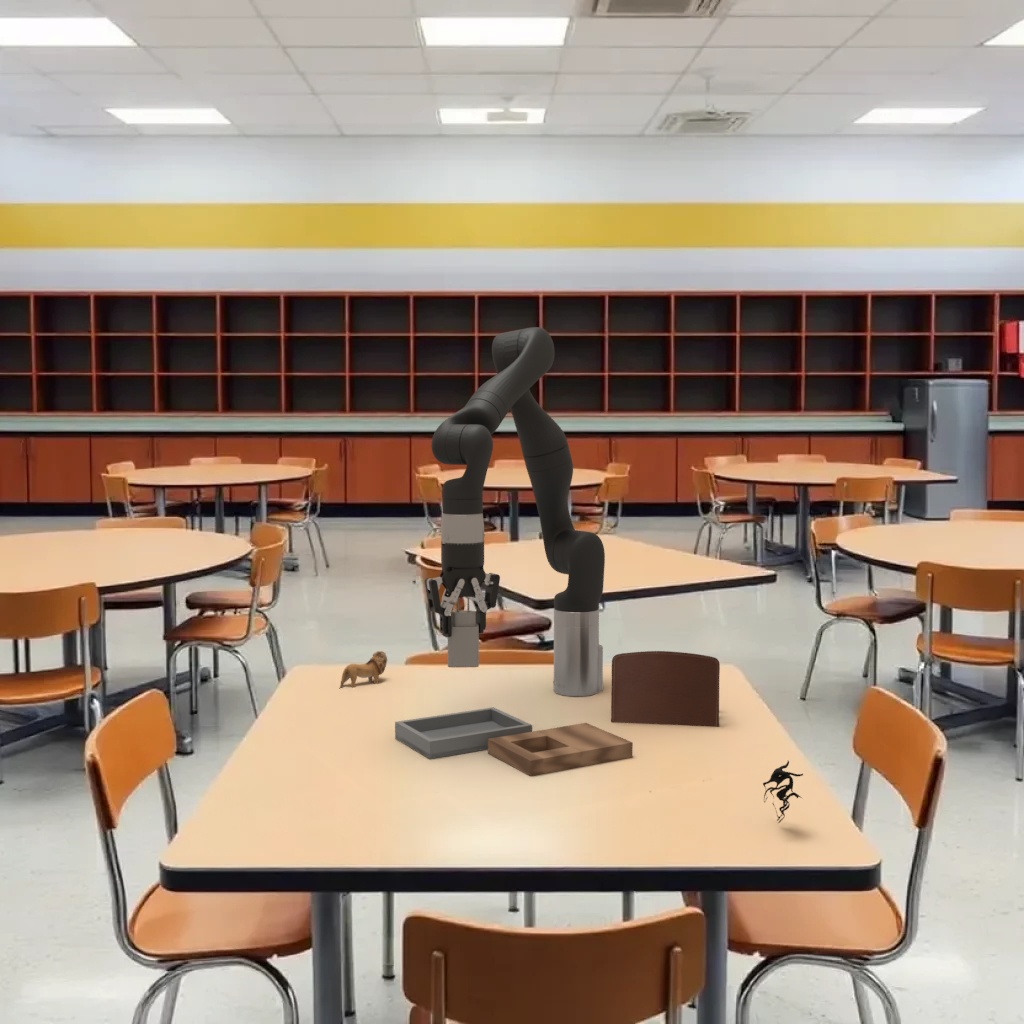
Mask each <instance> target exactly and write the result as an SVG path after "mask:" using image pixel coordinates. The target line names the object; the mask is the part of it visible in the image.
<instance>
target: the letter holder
mask: <svg viewBox="0 0 1024 1024" xmlns="http://www.w3.org/2000/svg"><path fill="white" fill-rule="evenodd" d="M611 659H612V660H611V694H610V695H611V697H610V698H611V701H610V703H611V704H610V705H611V707H610V713H611V714H610V715H611V717H610V722H611V723H615V724H617V723H619V724H639V725H642V724H643V725H660V726H662V725H663V726H665V725H666V726H667V725H668V726H687V727H688V726H689V727H710V728H712V727H713V728H719V727H720V672H721V671H720V661H719V659H718V658H716V657H714V656H710V655H704V654H696V653H690V652H682V651H681V652H680V651H669V650H667V651H665V650H663V651H662V650H651V651H650V650H648V651H634V652H633V651H632V652H625V653H623V652H622V653H618V654H614V655H613V657H612V658H611Z"/></svg>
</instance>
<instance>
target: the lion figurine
mask: <svg viewBox="0 0 1024 1024" xmlns="http://www.w3.org/2000/svg"><path fill="white" fill-rule="evenodd" d="M387 662H388V656H387V654H386V652H384V651H382V650H377V651H376V652H374V653H372V657H371V658H370V659H369V660H368V661H367V662H366V663H361V664H360V663H359V664H358V663H350V664H348V665H346V667H345V668H344V669H343V671H342V675H341V680H340V684H339V685H340V686H339V690H341V689H340V688H342V689H343V687H344V685H345V683H346V682H347V681H348V680H350V681H351V683H350V686H351V687H352V688H357V686H356V681H357V679H358V677H359V678H362V679H367V678H368V683H374V684H376V685H378V684H379V679H380V676H381V675H383V674H384V672H385V670H386V667H387ZM373 680H374V681H373Z"/></svg>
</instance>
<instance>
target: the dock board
mask: <svg viewBox="0 0 1024 1024" xmlns="http://www.w3.org/2000/svg"><path fill="white" fill-rule="evenodd" d="M487 754H488V755H491V756H492V757H494V758H496V759H498V760H500V761H502V762H504V763H505V764H507V765H509V766H511V767H513V768H515V769H517V770H518V771H519V772H522V773H524V774H526V775H528V776H529V777H533V776H538V775H543V774H549V773H555V772H559V771H565V770H570V769H575V768H580V767H581V768H582V767H586V766H593V765H597V764H603V763H607V762H608V763H609V762H613V761H617V760H624V759H628V758H629V759H630V758H633V741H630V740H628V739H626V738H623V737H621V736H618V735H616V734H613V733H611V732H609V731H607V730H605V729H602V728H599V727H597V726H594V725H592V724H590V723H587V722H582V723H576V724H571V725H565V726H558V727H552V728H546V729H541V730H539V729H538V730H532V732H527V733H521V734H515V735H509V736H503V737H496V738H490V739H488V749H487Z"/></svg>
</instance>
